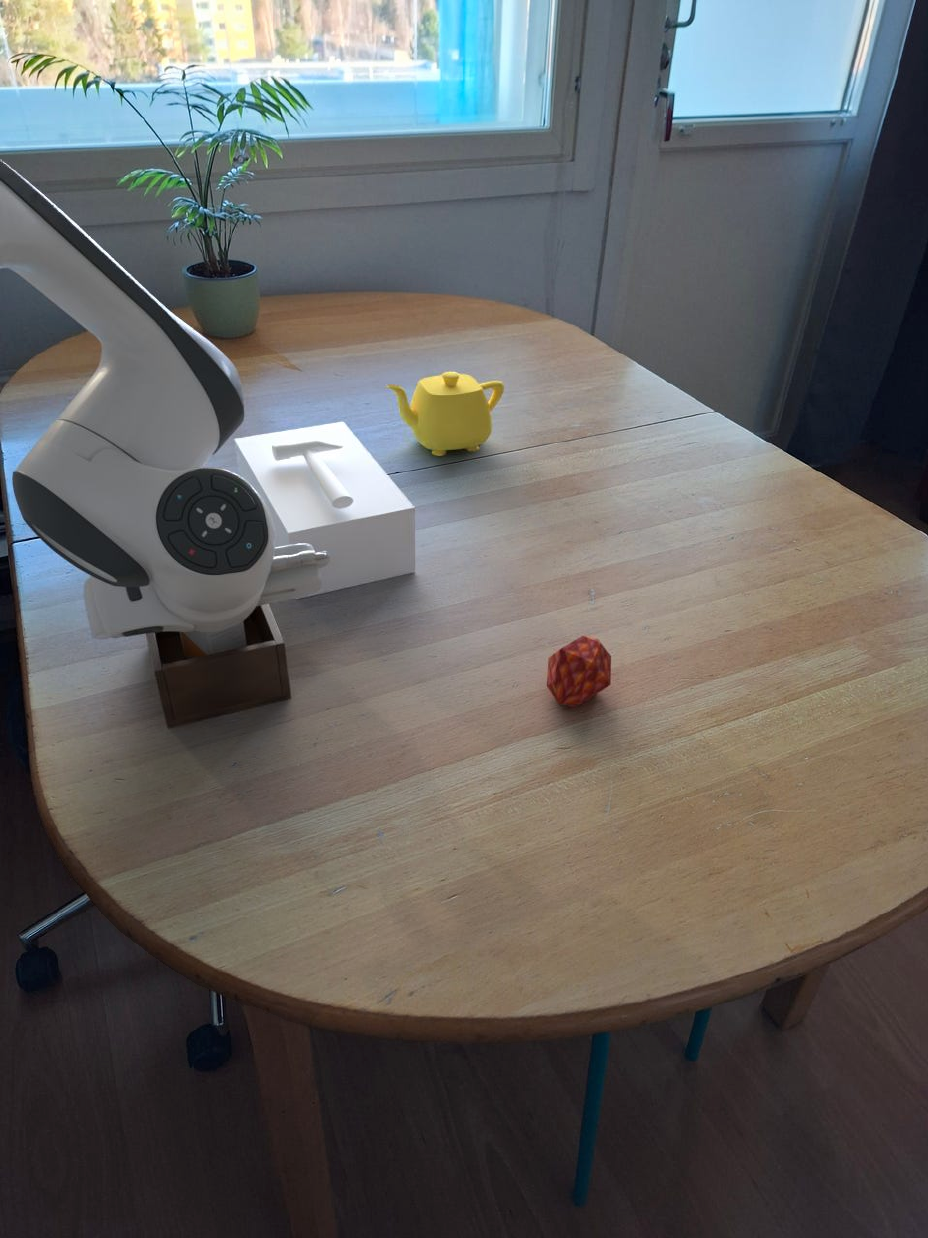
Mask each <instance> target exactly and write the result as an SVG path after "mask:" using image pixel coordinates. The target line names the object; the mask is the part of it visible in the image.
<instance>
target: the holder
mask: <svg viewBox="0 0 928 1238" xmlns="http://www.w3.org/2000/svg"><path fill="white" fill-rule="evenodd" d="M243 623H244V630H245V637H246V643H247V646H245V647H241V648H236V649H232V650H227V651H223V652H218V653H214V654H209V655H205V656H200V657H196V658H191V659H187V658H186V657H185V656H184V651H183V646H182V641H181V637H180V632H179V631H161V632H157V633H147V634H145V637H146V642H147V646H148V647H147V648H148V651H149V656H150V660H151V665H152V666H151V667H152V670H153V676H154V679H155V683H156V688H157V691H158V695H159V700H160V703H161V708H162V711H163V716H164V720H165V724H166V728H167V729H170V728H174V727H178V726H183V725H187V724H192V723H195V722H199V721H203V720H208V719H211V718H216V717H219V716H220V717H221V716H225V715H228V714H232V713H236V712H240V711H245V710H248V709H252V708H256V707H260V706H264V705H269V704H273V703H277V702H281V701H284V700H290V699H292V692H291V683H290V676H289V668H288V660H287V651H286V645H285V641H284V638H283V636H282V633H281V631H280V628H279V626H278V624H277V622H276V619H275V617H274V614H273V611H272V609H271V607H270V604H265V605H260V606H256V607H255V609H254V610H253V612H252V613H251V614H250V615H249V616H248V617H247V618H246V619H245V620H243Z"/></svg>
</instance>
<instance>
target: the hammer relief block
mask: <svg viewBox="0 0 928 1238" xmlns="http://www.w3.org/2000/svg"><path fill="white" fill-rule="evenodd" d="M233 439H234V440H233V441H234V447H235V448H234V449H235V453H236V461H237V468H238V475H239V476H240V477H242V478H243V479H245V480H246V481H247V482H248V483H250V484H251V485H252V486H253V487H254V488H255V489H256V491H257V492H258V493H259V494H260V496H261V497H262V499H263V500H264V502H265V504H266V506H267V508H268V510H269V512H270V514H271V517H272V520H273V523H274V528H275V548H276V547H281V546H286V545H292V544H299V543H307V544H310V545H312V546H313V548H314V551H315V553H318V552H323V551H327V552H328V554H329V555H330V561H329V563H328V564H327V565H326V566H324V567H322V568H320V574H321V578H322V587H321V589H320V590H319V591H318V592H316V593H314V594H311V595H307V596H303V597H298V598H294V599H295V600H300V599H304V598H308V597H313V596H316V595H321V594H325V593H331V592H335V591H339V590H343V589H347V588H352V587H355V586H360V585H365V584H369V583H373V582H378V581H383V580H387V579H391V578H396V577H399V576H400V577H401V576H405V575H409V574H413V573H416V508H415V507H416V506H414V505H413V504H412V502H411V501H410V500H409V499H408V498H407V496H406V495H405V494H404V492H403V491H402V490H401V489H400V488H399V487H398V486H397V484H396V483H395V482H394V480H393V479H391V477H390V476H389V475H388V473H387V472H386V471H385V470H384V469H383V468H382V466H381V465H380V464H379V463H378V461H377V460H376V459H375V458H374V457H373V455H372V454H371V453H370V452H369V450H368V449H367V448H366V447H365V446H364V445H363V444H362V442H361V441H360V440H359V439H358V437H357V436H356V435H355V434H354V432H352V430H351V429H350V428H349V426H348V425H347V424H346V423H345V422H344V421H336V422H332V423H326V424H320V425H319V424H318V425H313V426H306V427H300V428H293V429H288V430H282V431H281V430H280V431H276V432H269V433H263V434H256V435H251V436H250V435H249V436H243V437H236V438H233Z"/></svg>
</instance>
